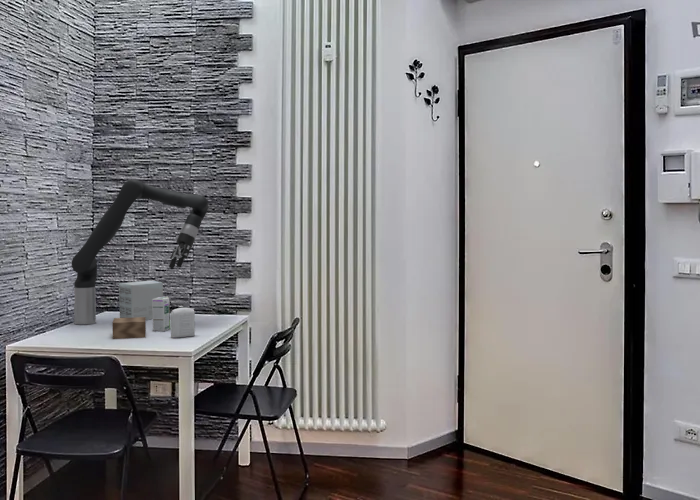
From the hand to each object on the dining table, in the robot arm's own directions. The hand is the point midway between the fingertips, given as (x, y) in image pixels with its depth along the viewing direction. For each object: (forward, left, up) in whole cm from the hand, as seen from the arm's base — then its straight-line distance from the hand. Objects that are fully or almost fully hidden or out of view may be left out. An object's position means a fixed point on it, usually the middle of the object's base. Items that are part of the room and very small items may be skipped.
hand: (174, 267), depth 308 cm
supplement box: (-16, +30, -28) cm, 44 cm away
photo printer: (+3, -25, -28) cm, 37 cm away
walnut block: (-19, -17, -28) cm, 38 cm away
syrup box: (-6, -6, -28) cm, 29 cm away
